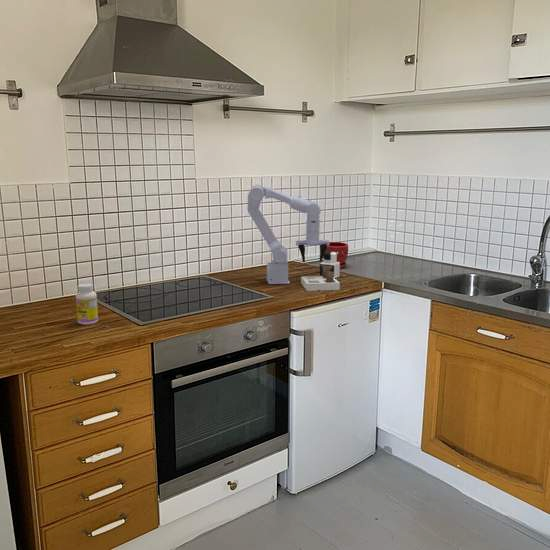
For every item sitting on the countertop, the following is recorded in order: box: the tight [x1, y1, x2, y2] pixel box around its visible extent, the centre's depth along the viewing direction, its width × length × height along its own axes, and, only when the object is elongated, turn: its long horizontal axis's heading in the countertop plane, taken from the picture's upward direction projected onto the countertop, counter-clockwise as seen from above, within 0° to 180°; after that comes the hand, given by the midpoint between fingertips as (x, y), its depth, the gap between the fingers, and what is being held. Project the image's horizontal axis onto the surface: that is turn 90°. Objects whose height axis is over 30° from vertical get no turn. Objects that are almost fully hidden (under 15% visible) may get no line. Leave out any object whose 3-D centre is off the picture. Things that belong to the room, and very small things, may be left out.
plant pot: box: [325, 241, 349, 269], centre depth 280 cm, size 13×13×12 cm
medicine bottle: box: [319, 252, 341, 279], centre depth 255 cm, size 7×7×12 cm
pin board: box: [300, 266, 341, 292], centre depth 238 cm, size 14×14×8 cm
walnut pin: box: [326, 271, 334, 283], centre depth 236 cm, size 3×3×7 cm
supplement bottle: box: [75, 283, 99, 326], centre depth 185 cm, size 7×7×13 cm
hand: (312, 261), depth 245 cm, fingers open, 7 cm apart
